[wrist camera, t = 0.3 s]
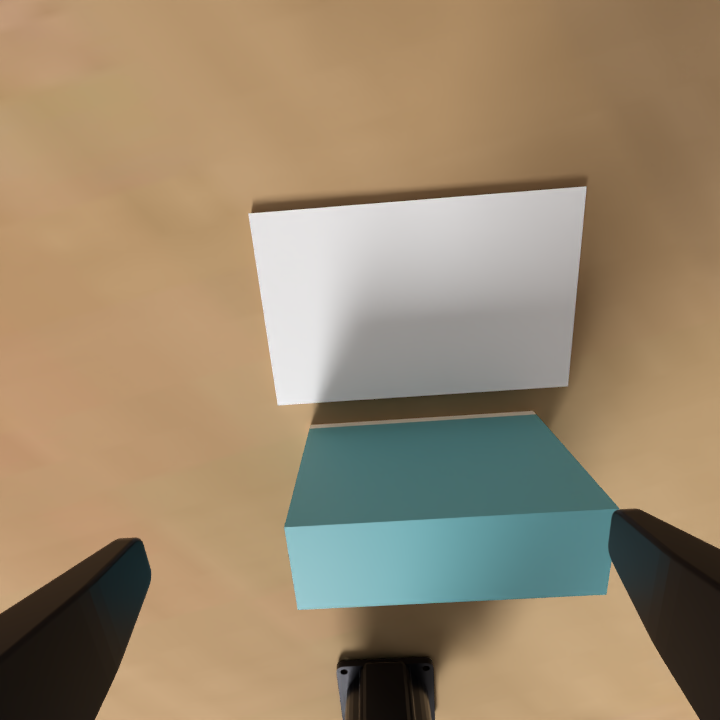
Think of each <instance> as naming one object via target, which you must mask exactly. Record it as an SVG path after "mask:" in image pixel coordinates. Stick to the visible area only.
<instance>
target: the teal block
mask: <svg viewBox="0 0 720 720" xmlns="http://www.w3.org/2000/svg"><path fill="white" fill-rule="evenodd" d="M616 510H619V508H618V506H617V505H616V504H615V503H614V502H613V501H612V500H611V499H610V497H609V496H608V495H607V494H606V493H605V492H604V491H603V489H602V488H601V487H600V486H599V485H598V484H597V483H596V482H595V480H594V479H593V478H592V477H591V476H590V475H589V474H588V472H587V471H586V470H585V469H584V468H583V467H582V466H581V465H580V463H579V462H578V461H577V460H576V459H575V458H574V457H573V455H572V454H571V453H570V452H569V451H568V450H567V449H566V447H565V446H564V445H563V444H562V443H561V442H560V441H559V440H558V438H557V437H556V436H555V435H554V434H553V433H552V432H551V430H550V429H549V428H548V427H547V426H546V425H545V424H544V423H543V421H542V420H541V419H540V418H539V417H538V416H537V415H536V413H535V412H534V411H522V412H507V413H491V414H475V415H459V416H444V417H428V418H412V419H397V420H381V421H365V422H349V423H334V424H318V425H310V429H309V433H308V437H307V441H306V445H305V449H304V453H303V456H302V460H301V464H300V468H299V472H298V476H297V480H296V484H295V488H294V491H293V495H292V499H291V503H290V507H289V511H288V515H287V519H286V523H285V527H284V529H285V535H286V541H287V547H288V553H289V559H290V565H291V571H292V577H293V583H294V590H295V596H296V602H297V608H298V610H304V609H324V608H344V607H364V606H384V605H405V604H425V603H445V602H465V601H485V600H506V599H526V598H546V597H566V596H586V595H606V593H607V587H608V580H609V574H610V567H611V558H610V555H609V551H608V540H609V533H610V525H611V517H612V514H613V512H614V511H616Z"/></svg>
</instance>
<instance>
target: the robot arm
mask: <svg viewBox="0 0 720 720" xmlns="http://www.w3.org/2000/svg"><path fill="white" fill-rule="evenodd" d="M608 551H609V555H610V558H611V560H612V562H613V564H614V566H615V568H616V570H617V572H618V574H619V576H620V578H621V580H622V582H623V584H624V586H625V588H626V590H627V592H628V594H629V596H630V598H631V600H632V602H633V604H634V606H635V608H636V610H637V612H638V614H639V616H640V618H641V620H642V622H643V624H644V626H645V628H646V630H647V632H648V634H649V636H650V638H651V640H652V642H653V644H654V645H655V647H656V649H657V650H658V652H659V654H660V656H661V657H662V659H663V661H664V662H665V664H666V665H667V667H668V669H669V670H670V672H671V674H672V675H673V677H674V678H675V680H676V682H677V683H678V685H679V687H680V688H681V690H682V691H683V693H684V695H685V696H686V698H687V700H688V701H689V703H690V704H691V706H692V708H693V709H694V711H695V712H696V714H697V716H698V717H699V719H700V720H720V549H718V548H716V547H714V546H712V545H710V544H708V543H706V542H704V541H702V540H700V539H698V538H696V537H694V536H692V535H690V534H688V533H686V532H684V531H682V530H680V529H678V528H676V527H674V526H672V525H670V524H668V523H666V522H664V521H662V520H660V519H658V518H656V517H654V516H652V515H650V514H648V513H646V512H644V511H642V510H640V509H619V510H616V511H614V512H613V514H612V517H611V525H610V533H609V540H608ZM150 581H151V569H150V565H149V562H148V558H147V555H146V552H145V548H144V545H143V542H142V541H141V539H139V538H121V539H117V540H115V541H113V542H111V543H110V544H108V545H107V546H105V547H104V548H102V549H101V550H99V551H97V552H96V553H94V554H93V555H91V556H90V557H88V558H87V559H85V560H83V561H82V562H80V563H79V564H77V565H76V566H74V567H73V568H71V569H69V570H68V571H66V572H65V573H63V574H62V575H60V576H59V577H57V578H55V579H54V580H52V581H51V582H49V583H48V584H46V585H45V586H43V587H41V588H40V589H38V590H37V591H35V592H34V593H32V594H31V595H29V596H27V597H26V598H24V599H23V600H21V601H20V602H18V603H17V604H15V605H13V606H12V607H10V608H9V609H7V610H6V611H4V612H3V613H1V614H0V720H95V718H96V716H97V714H98V712H99V710H100V707H101V705H102V703H103V701H104V699H105V697H106V695H107V693H108V691H109V688H110V686H111V684H112V682H113V680H114V677H115V675H116V673H117V671H118V668H119V666H120V663H121V661H122V658H123V656H124V653H125V650H126V648H127V645H128V642H129V639H130V637H131V634H132V631H133V629H134V626H135V623H136V621H137V618H138V615H139V612H140V610H141V607H142V604H143V602H144V599H145V596H146V593H147V591H148V588H149V585H150ZM337 680H338V687H339V695H340V702H341V710H342V717H343V720H435V706H434V668H433V662H432V660H431V659H430V658H428V657H415V658H393V659H371V660H349V661H340V662H339V663H338V664H337Z"/></svg>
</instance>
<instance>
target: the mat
mask: <svg viewBox="0 0 720 720" xmlns="http://www.w3.org/2000/svg"><path fill="white" fill-rule="evenodd" d="M586 187H587V186H585V187H572V188H560V189H547V190H535V191H523V192H510V193H498V194H485V195H473V196H461V197H448V198H436V199H423V200H411V201H399V202H386V203H374V204H361V205H349V206H337V207H324V208H312V209H299V210H287V211H275V212H262V213H250V214H249V220H250V226H251V233H252V239H253V246H254V253H255V259H256V266H257V272H258V279H259V285H260V292H261V298H262V305H263V311H264V318H265V324H266V331H267V338H268V344H269V351H270V357H271V364H272V370H273V377H274V383H275V390H276V396H277V403H278V405H290V404H305V403H320V402H335V401H351V400H366V399H381V398H397V397H412V396H427V395H443V394H458V393H473V392H489V391H504V390H519V389H534V388H550V387H565V386H568V380H569V369H570V358H571V348H572V337H573V326H574V316H575V305H576V294H577V284H578V273H579V262H580V252H581V241H582V230H583V220H584V209H585V198H586Z"/></svg>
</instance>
